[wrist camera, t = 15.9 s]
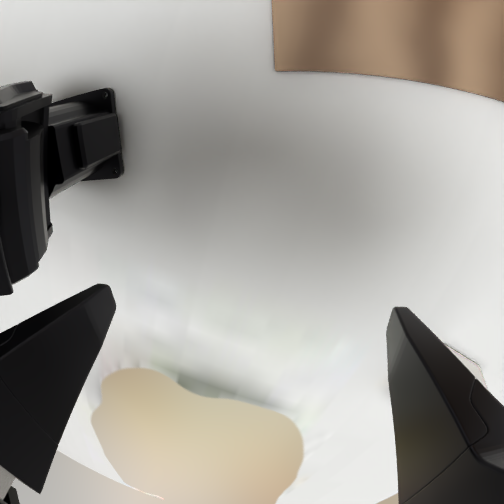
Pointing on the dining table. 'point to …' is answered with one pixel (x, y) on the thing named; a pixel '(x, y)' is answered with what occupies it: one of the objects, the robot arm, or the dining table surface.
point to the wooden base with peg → (396, 40)
